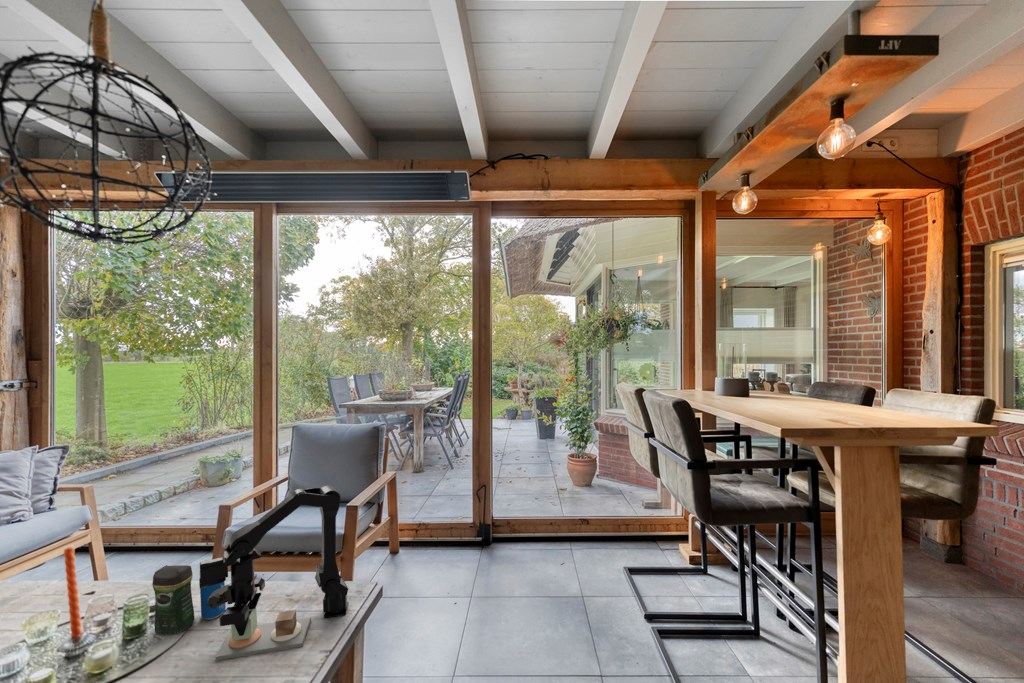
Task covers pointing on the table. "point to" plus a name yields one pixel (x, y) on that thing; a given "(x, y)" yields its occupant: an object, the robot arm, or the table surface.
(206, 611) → the beverage can
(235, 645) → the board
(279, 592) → the table surface
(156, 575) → the coffee jar
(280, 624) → the walnut block
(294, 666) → the table surface
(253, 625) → the sage block
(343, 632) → the table surface
